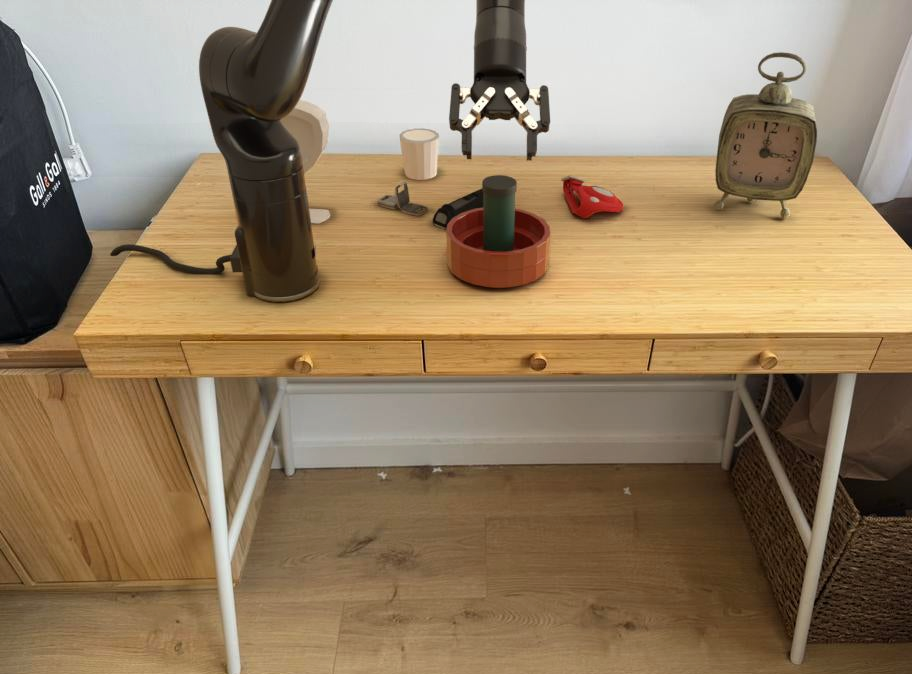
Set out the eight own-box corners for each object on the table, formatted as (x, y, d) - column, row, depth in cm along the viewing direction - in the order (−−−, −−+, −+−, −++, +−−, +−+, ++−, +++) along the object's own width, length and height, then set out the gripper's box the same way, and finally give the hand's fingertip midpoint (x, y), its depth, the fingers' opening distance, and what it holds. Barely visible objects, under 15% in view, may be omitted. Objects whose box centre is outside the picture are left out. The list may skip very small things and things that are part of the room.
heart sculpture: (235, 218, 128) (212, 104, 118) (245, 205, 132) (224, 93, 122) (332, 224, 128) (318, 110, 117) (339, 210, 132) (327, 98, 121)
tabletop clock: (705, 213, 134) (734, 56, 119) (708, 191, 141) (736, 40, 126) (796, 224, 131) (838, 65, 116) (794, 201, 138) (833, 48, 123)
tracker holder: (632, 196, 136) (617, 205, 127) (622, 220, 138) (606, 231, 129) (568, 166, 138) (549, 174, 130) (559, 190, 140) (539, 199, 132)
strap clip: (375, 205, 134) (373, 181, 131) (386, 198, 136) (384, 174, 133) (419, 217, 130) (417, 192, 128) (429, 210, 133) (428, 185, 130)
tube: (481, 269, 116) (481, 189, 109) (482, 253, 120) (482, 174, 112) (514, 269, 116) (517, 189, 109) (514, 253, 120) (516, 175, 112)
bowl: (445, 292, 112) (444, 253, 109) (449, 242, 124) (448, 205, 120) (550, 293, 113) (553, 254, 109) (545, 243, 124) (547, 207, 121)
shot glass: (398, 167, 146) (395, 129, 142) (435, 164, 148) (434, 126, 143) (405, 183, 141) (403, 143, 136) (444, 179, 142) (443, 140, 138)
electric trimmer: (510, 200, 137) (510, 182, 135) (448, 231, 127) (448, 212, 125) (492, 194, 139) (493, 176, 137) (430, 223, 129) (430, 205, 127)
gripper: (449, 34, 113) (447, 146, 111) (551, 36, 113) (551, 147, 111) (451, 62, 120) (450, 167, 118) (547, 64, 121) (547, 169, 119)
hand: (499, 157), depth 115 cm, fingers open, 8 cm apart
